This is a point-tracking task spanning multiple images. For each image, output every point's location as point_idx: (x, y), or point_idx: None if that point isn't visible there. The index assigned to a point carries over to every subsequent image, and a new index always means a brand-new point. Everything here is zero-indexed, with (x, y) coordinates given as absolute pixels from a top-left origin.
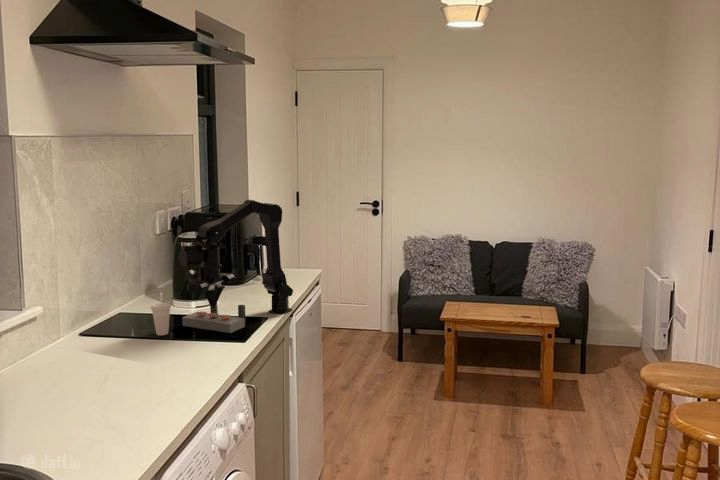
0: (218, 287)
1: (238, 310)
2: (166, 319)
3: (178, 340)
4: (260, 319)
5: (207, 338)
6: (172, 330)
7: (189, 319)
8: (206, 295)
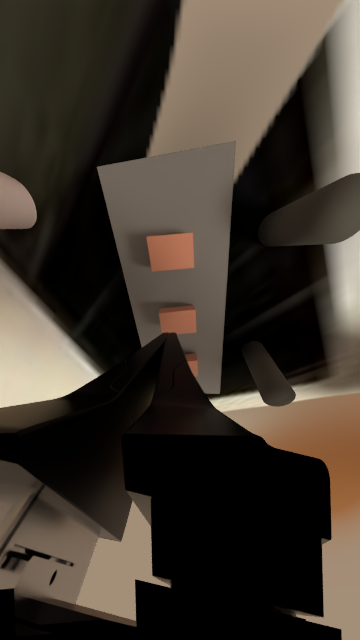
0: (176, 546)
1: (258, 376)
2: None
3: (40, 307)
4: (299, 372)
5: (100, 353)
6: (61, 204)
7: (115, 228)
8: (96, 387)
